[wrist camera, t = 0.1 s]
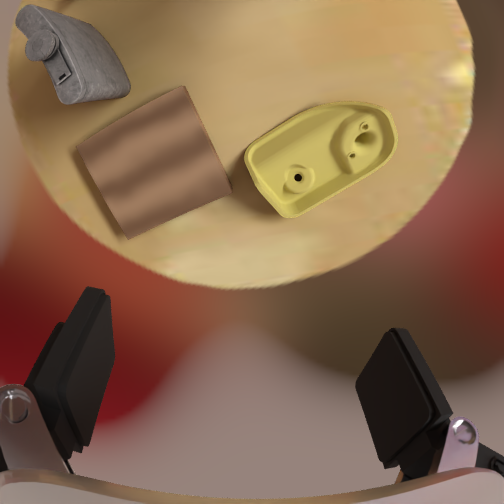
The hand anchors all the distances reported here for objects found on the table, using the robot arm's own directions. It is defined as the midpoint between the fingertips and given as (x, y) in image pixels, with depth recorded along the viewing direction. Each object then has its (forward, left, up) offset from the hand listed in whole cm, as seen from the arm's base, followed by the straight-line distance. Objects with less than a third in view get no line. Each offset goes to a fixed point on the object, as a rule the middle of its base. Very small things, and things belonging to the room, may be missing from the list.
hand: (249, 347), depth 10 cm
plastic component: (+5, +11, -38) cm, 40 cm away
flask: (-21, -11, -38) cm, 44 cm away
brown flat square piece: (-3, -11, -37) cm, 39 cm away
